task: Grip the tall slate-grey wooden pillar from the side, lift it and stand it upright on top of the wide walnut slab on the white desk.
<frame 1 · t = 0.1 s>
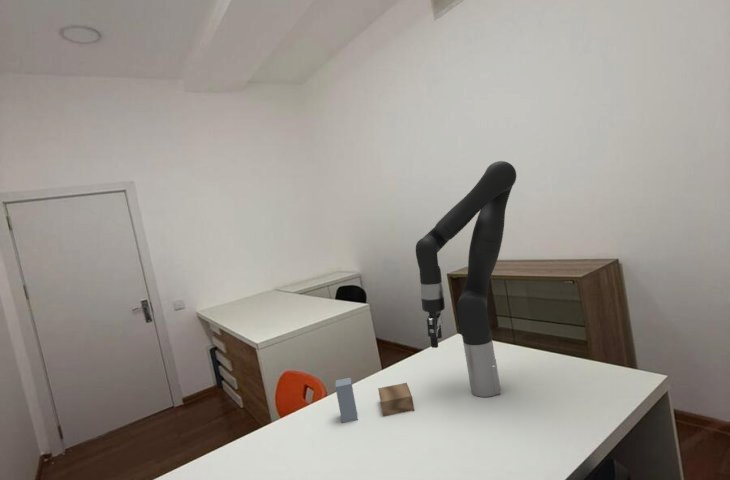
hand: (436, 342, 133), 17 cm above the table, fingers open, 8 cm apart
slate pillar: (349, 417, 127), on the table
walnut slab: (396, 406, 129), on the table
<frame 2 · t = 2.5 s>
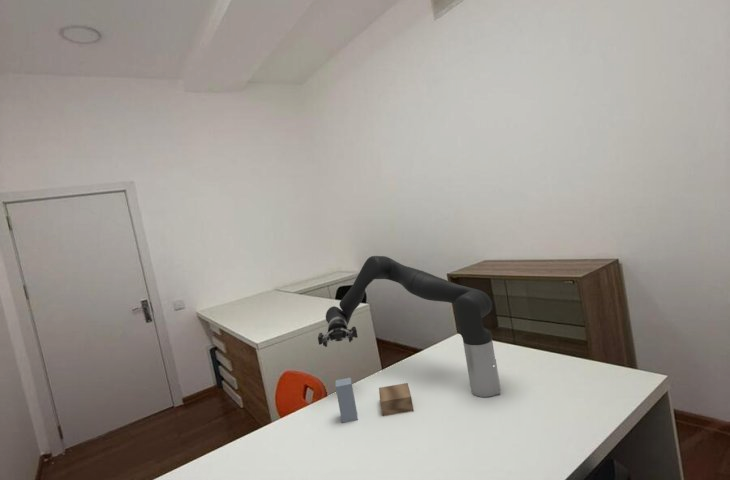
hand: (337, 341, 137), 22 cm above the table, fingers open, 8 cm apart
nothing on the table moved.
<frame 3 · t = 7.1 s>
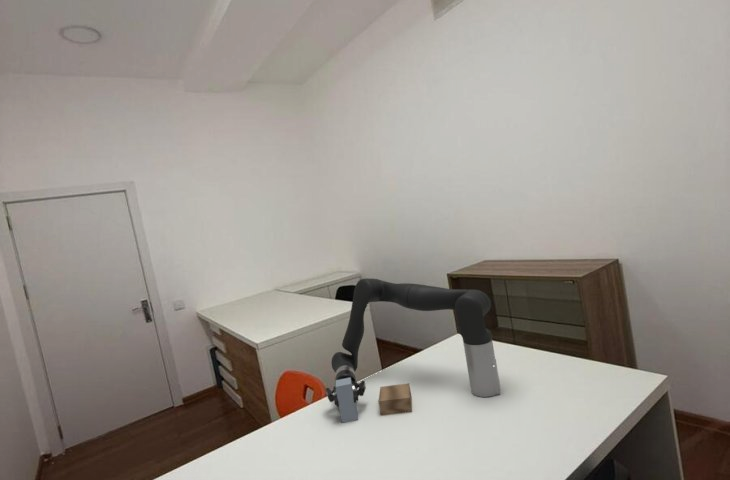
hand: (346, 401, 124), 7 cm above the table, fingers closed on slate pillar, 5 cm apart
slate pillar: (349, 417, 127), on the table, touching gripper
everything else where it was.
when the fingers open (13 cm above the table, at t = 11.9 s): slate pillar drops 2 cm, resting on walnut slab.
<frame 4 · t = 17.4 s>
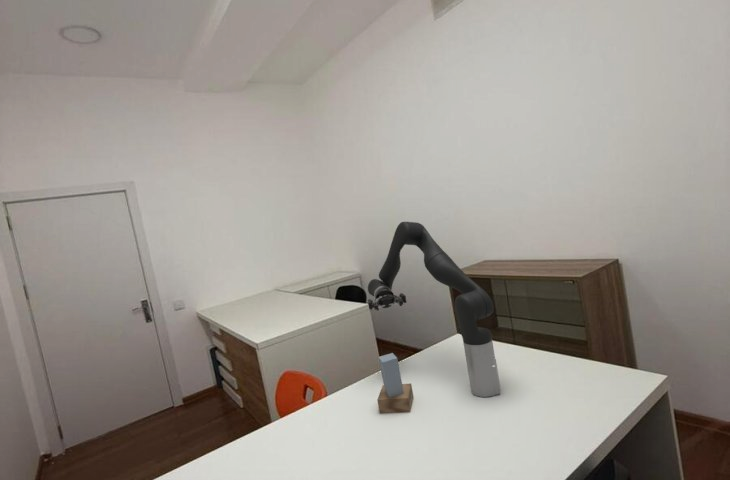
hand: (389, 305, 141), 30 cm above the table, fingers open, 8 cm apart
slate pillar: (394, 392, 129), point 5 cm above the table, touching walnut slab
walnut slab: (397, 405, 130), on the table, touching slate pillar
at the end: slate pillar 0.7 cm off-centre on the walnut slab, point 5.1 cm above the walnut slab's base; slate pillar tilted 2°; the gripper is holding nothing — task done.
